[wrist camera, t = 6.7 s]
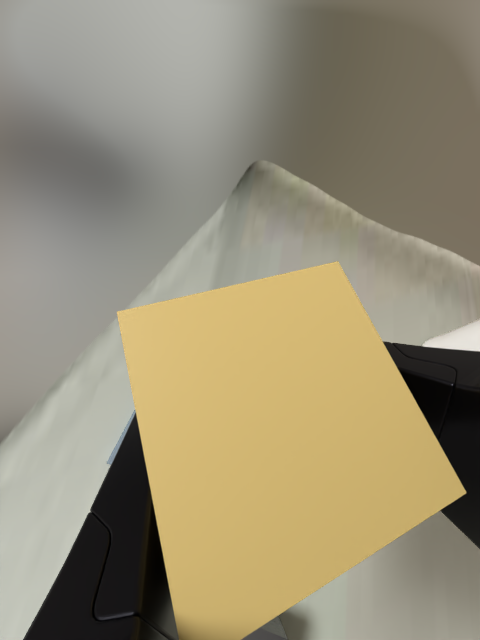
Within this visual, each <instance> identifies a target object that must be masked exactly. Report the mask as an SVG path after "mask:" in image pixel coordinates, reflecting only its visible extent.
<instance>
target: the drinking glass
mask: <svg viewBox="0 0 480 640" xmlns="http://www.w3.org/2000/svg"><path fill="white" fill-rule="evenodd" d="M422 346H423V347H434V348H445V349H457V350H469V351H480V319H478V320H476V321H473V322H471V323H469V324H466V325H464V326H462V327H459V328H457V329H454V330H452V331H450V332H447V333H445V334H442V335H439V336H436V337H433V338H430V339H428V340H427V341H426V342H424V344H423V345H422Z"/></svg>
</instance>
